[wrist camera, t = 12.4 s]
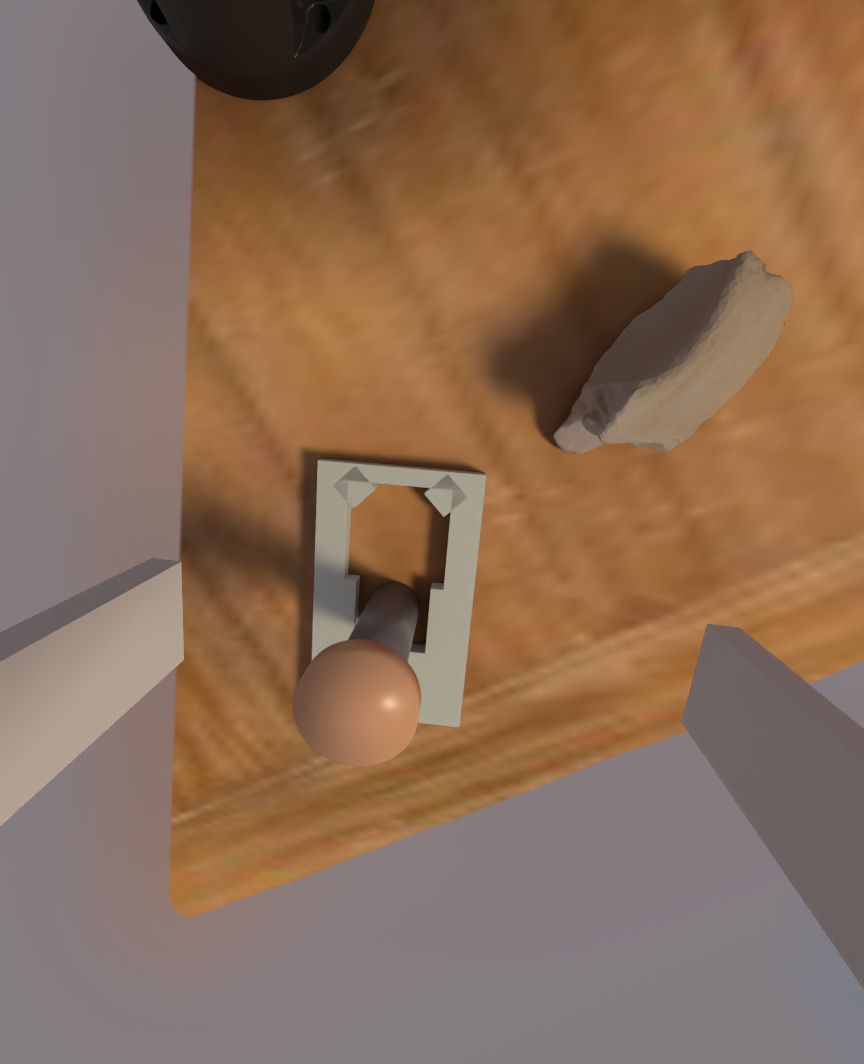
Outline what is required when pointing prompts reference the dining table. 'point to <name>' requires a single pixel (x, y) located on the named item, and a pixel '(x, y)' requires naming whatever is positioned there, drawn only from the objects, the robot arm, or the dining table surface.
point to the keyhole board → (450, 600)
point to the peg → (364, 685)
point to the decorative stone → (681, 358)
